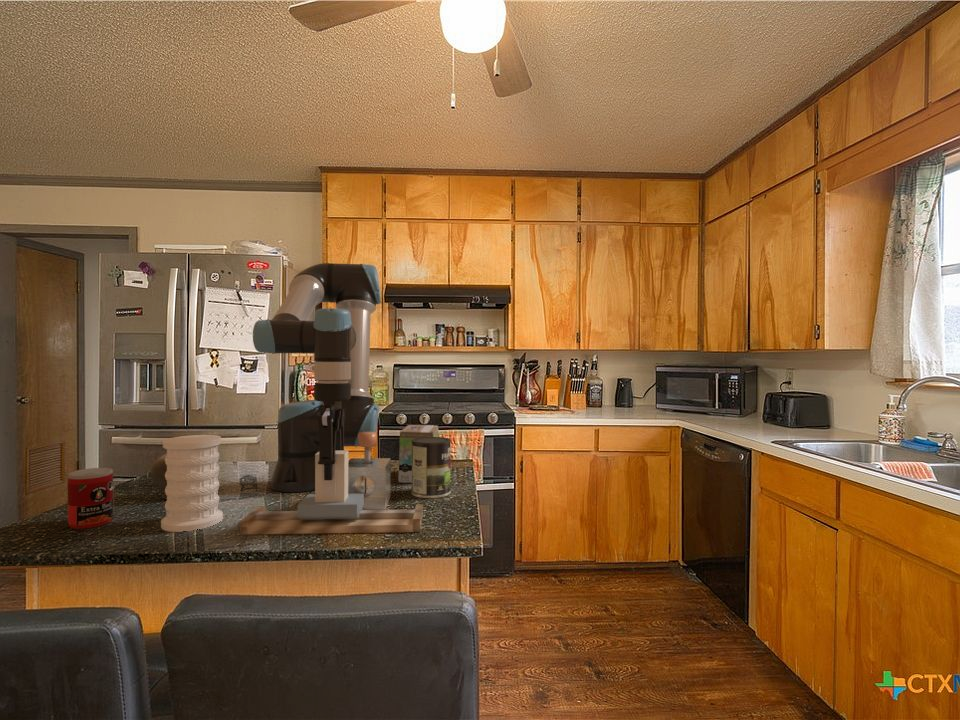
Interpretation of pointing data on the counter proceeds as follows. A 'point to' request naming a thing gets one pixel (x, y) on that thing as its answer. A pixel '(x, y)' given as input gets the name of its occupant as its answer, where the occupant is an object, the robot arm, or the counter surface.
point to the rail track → (332, 522)
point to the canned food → (90, 498)
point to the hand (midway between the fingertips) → (332, 491)
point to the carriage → (332, 504)
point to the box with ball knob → (370, 481)
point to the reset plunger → (367, 443)
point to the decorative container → (192, 483)
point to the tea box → (406, 447)
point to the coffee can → (431, 467)
